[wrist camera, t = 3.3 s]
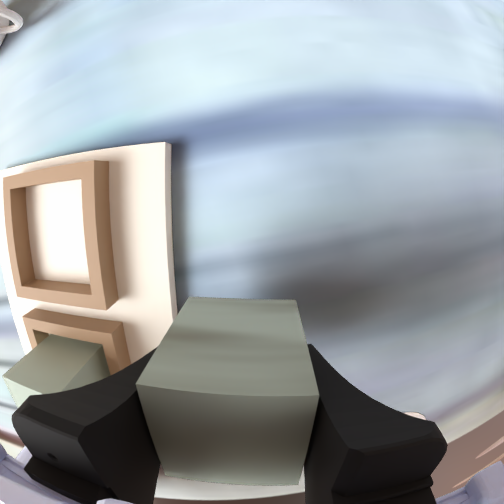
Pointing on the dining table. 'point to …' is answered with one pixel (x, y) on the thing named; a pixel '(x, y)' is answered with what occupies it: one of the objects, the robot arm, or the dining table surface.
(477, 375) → the dining table surface
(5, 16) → the mug
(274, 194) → the dining table surface
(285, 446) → the green block
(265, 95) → the dining table surface
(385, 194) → the dining table surface
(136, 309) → the puzzle board
